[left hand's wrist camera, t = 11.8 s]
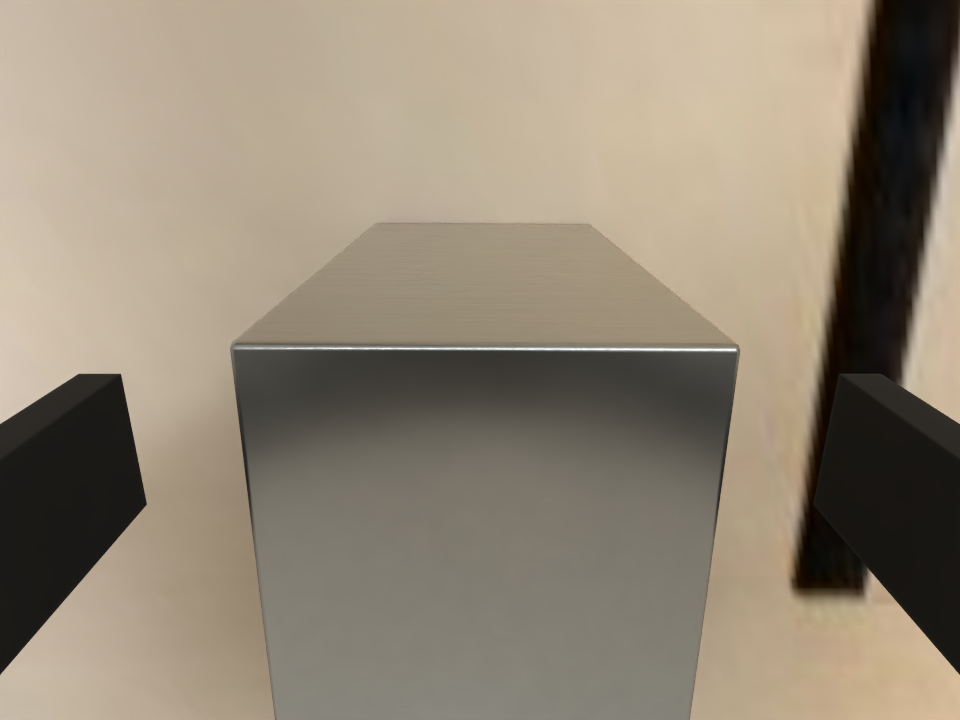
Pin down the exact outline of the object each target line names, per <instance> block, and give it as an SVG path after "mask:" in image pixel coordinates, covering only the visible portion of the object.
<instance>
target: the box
mask: <svg viewBox="0 0 960 720" xmlns="http://www.w3.org/2000/svg"><path fill="white" fill-rule="evenodd" d="M230 351H231V359H232V367H233V375H234V384H235V392H236V400H237V408H238V417H239V425H240V433H241V441H242V450H243V458H244V466H245V474H246V483H247V491H248V499H249V507H250V516H251V524H252V532H253V540H254V549H255V557H256V565H257V573H258V582H259V590H260V598H261V606H262V615H263V623H264V631H265V639H266V648H267V656H268V664H269V672H270V681H271V689H272V697H273V706H274V714H275V720H690V713H691V706H692V698H693V691H694V684H695V677H696V669H697V662H698V655H699V647H700V640H701V633H702V625H703V618H704V611H705V603H706V596H707V589H708V582H709V574H710V567H711V560H712V552H713V545H714V538H715V530H716V523H717V516H718V508H719V501H720V494H721V487H722V479H723V472H724V465H725V457H726V450H727V443H728V435H729V428H730V421H731V413H732V406H733V399H734V392H735V384H736V377H737V370H738V362H739V355H740V349H739V346H738V345H737V344H736V343H735V342H734V341H732V340H731V339H730V338H729V337H727V336H726V335H725V334H724V333H722V332H721V331H720V330H719V329H718V328H716V327H715V326H714V325H713V324H711V323H710V322H709V321H708V320H707V319H705V318H704V317H703V316H702V315H700V314H699V313H698V312H697V311H696V310H694V309H693V308H692V307H691V306H689V305H688V304H687V303H686V302H685V301H683V300H682V299H681V298H680V297H678V296H677V295H676V294H675V293H673V292H672V291H671V290H670V289H669V288H667V287H666V286H665V285H664V284H662V283H661V282H660V281H659V280H658V279H656V278H655V277H654V276H653V275H651V274H650V273H649V272H648V271H647V270H645V269H644V268H643V267H642V266H640V265H639V264H638V263H637V262H636V261H634V260H633V259H632V258H631V257H629V256H628V255H627V254H626V253H625V252H623V251H622V250H621V249H620V248H618V247H617V246H616V245H615V244H613V243H612V242H611V241H610V240H609V239H607V238H606V237H605V236H604V235H602V234H601V233H600V232H599V231H598V230H596V229H595V228H594V227H593V226H591V225H589V224H454V223H376V224H374V225H373V226H372V227H371V228H370V229H368V230H367V231H366V232H365V233H364V234H362V235H361V236H360V237H359V238H358V239H356V240H355V241H354V242H353V243H352V244H350V245H349V246H348V247H347V248H345V249H344V250H343V251H342V252H341V253H339V254H338V255H337V256H336V257H335V258H333V259H332V260H331V261H330V262H329V263H327V264H326V265H325V266H324V267H323V268H321V269H320V270H319V271H318V272H317V273H315V274H314V275H313V276H312V277H311V278H309V279H308V280H307V281H306V282H305V283H303V284H302V285H301V286H300V287H299V288H297V289H296V290H295V291H294V292H293V293H291V294H290V295H289V296H288V297H287V298H285V299H284V300H283V301H282V302H280V303H279V304H278V305H277V306H276V307H274V308H273V309H272V310H271V311H270V312H268V313H267V314H266V315H265V316H264V317H262V318H261V319H260V320H259V321H258V322H256V323H255V324H254V325H253V326H252V327H250V328H249V329H248V330H247V331H246V332H244V333H243V334H242V335H241V336H240V337H238V338H237V339H236V340H235V341H234V342H232V344H231V347H230Z"/></svg>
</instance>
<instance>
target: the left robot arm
mask: <svg viewBox="0 0 960 720" xmlns="http://www.w3.org/2000/svg"><path fill="white" fill-rule="evenodd" d="M146 505H147V503H146V498H145V493H144V488H143V483H142V478H141V473H140V468H139V463H138V457H137V452H136V447H135V442H134V437H133V432H132V427H131V422H130V417H129V412H128V407H127V402H126V397H125V392H124V387H123V382H122V377H121V374H78V375H76V376H75V377H73V378H72V379H70V380H69V381H67V382H66V383H64V384H62V385H61V386H59V387H58V388H56V389H55V390H53V391H51V392H50V393H48V394H47V395H45V396H44V397H42V398H41V399H39V400H37V401H36V402H34V403H33V404H31V405H30V406H28V407H26V408H25V409H23V410H22V411H20V412H19V413H17V414H15V415H14V416H12V417H11V418H9V419H8V420H6V421H5V422H3V423H1V424H0V674H1V673H2V672H3V671H4V670H5V669H6V667H7V666H8V665H9V664H10V663H11V662H12V660H13V659H14V658H15V657H16V656H17V655H18V653H19V652H20V651H21V650H22V649H23V648H24V646H25V645H26V644H27V643H28V642H29V641H30V640H31V638H32V637H33V636H34V635H35V634H36V633H37V631H38V630H39V629H40V628H41V627H42V626H43V624H44V623H45V622H46V621H47V620H48V619H49V617H50V616H51V615H52V614H53V613H54V612H55V610H56V609H57V608H58V607H59V606H60V605H61V604H62V602H63V601H64V600H65V599H66V598H67V597H68V595H69V594H70V593H71V592H72V591H73V590H74V588H75V587H76V586H77V585H78V584H79V583H80V581H81V580H82V579H83V578H84V577H85V576H86V574H87V573H88V572H89V571H90V570H91V569H92V568H93V566H94V565H95V564H96V563H97V562H98V561H99V559H100V558H101V557H102V556H103V555H104V554H105V552H106V551H107V550H108V549H109V548H110V547H111V545H112V544H113V543H114V542H115V541H116V540H117V538H118V537H119V536H120V535H121V534H122V533H123V532H124V530H125V529H126V528H127V527H128V526H129V525H130V523H131V522H132V521H133V520H134V519H135V518H136V516H137V515H138V514H139V513H140V512H141V511H142V509H143V508H144V507H145V506H146ZM813 505H814V506H815V507H816V508H817V509H818V511H819V512H820V513H821V514H822V515H823V516H824V518H825V519H826V520H827V521H828V522H829V523H830V525H831V526H832V527H833V528H834V529H835V530H836V532H837V533H838V534H839V535H840V536H841V537H842V538H843V540H844V541H845V542H846V543H847V544H848V545H849V547H850V548H851V549H852V550H853V551H854V552H855V554H856V555H857V556H858V557H859V558H860V559H861V561H862V562H863V563H864V564H865V565H866V566H867V568H868V569H869V570H870V571H871V572H872V573H873V574H874V576H875V577H876V578H877V579H878V580H879V581H880V583H881V584H882V585H883V586H884V587H885V588H886V590H887V591H888V592H889V593H890V594H891V595H892V597H893V598H894V599H895V600H896V601H897V602H898V604H899V605H900V606H901V607H902V608H903V609H904V610H905V612H906V613H907V614H908V615H909V616H910V617H911V619H912V620H913V621H914V622H915V623H916V624H917V626H918V627H919V628H920V629H921V630H922V631H923V633H924V634H925V635H926V636H927V637H928V638H929V640H930V641H931V642H932V643H933V644H934V645H935V646H936V648H937V649H938V650H939V651H940V652H941V653H942V655H943V656H944V657H945V658H946V659H947V660H948V662H949V663H950V664H951V665H952V666H953V667H954V669H955V670H956V671H957V672H958V673H959V674H960V424H959V423H957V422H955V421H954V420H952V419H951V418H949V417H948V416H946V415H945V414H943V413H941V412H940V411H938V410H937V409H935V408H934V407H932V406H930V405H929V404H927V403H926V402H924V401H923V400H921V399H919V398H918V397H916V396H915V395H913V394H912V393H910V392H909V391H907V390H905V389H904V388H902V387H901V386H899V385H898V384H896V383H894V382H893V381H891V380H890V379H888V378H887V377H885V376H884V375H882V374H839V377H838V382H837V387H836V392H835V397H834V402H833V407H832V412H831V417H830V422H829V427H828V432H827V437H826V442H825V447H824V452H823V457H822V462H821V468H820V473H819V478H818V483H817V488H816V493H815V498H814V503H813Z"/></svg>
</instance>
